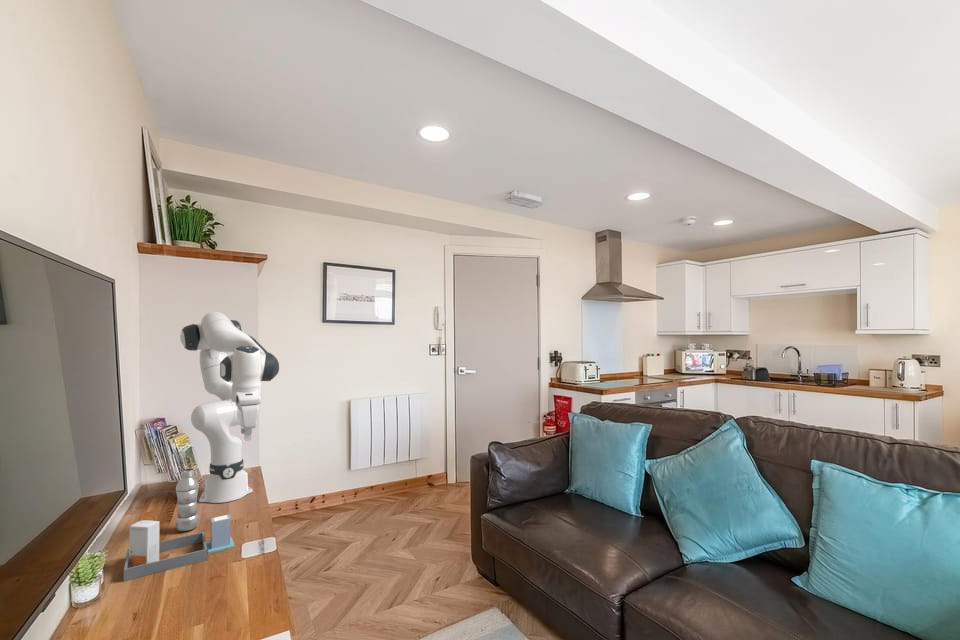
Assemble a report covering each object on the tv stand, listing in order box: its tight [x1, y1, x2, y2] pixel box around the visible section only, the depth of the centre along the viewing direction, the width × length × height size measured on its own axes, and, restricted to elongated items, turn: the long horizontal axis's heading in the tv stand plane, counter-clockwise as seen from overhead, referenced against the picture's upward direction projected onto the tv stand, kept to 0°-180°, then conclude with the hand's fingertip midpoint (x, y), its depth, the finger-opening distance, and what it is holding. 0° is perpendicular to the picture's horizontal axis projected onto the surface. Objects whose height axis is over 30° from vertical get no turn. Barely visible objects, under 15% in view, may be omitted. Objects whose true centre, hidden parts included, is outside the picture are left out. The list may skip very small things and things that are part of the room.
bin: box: [123, 531, 208, 582], centre depth 131 cm, size 14×19×3 cm
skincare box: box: [128, 519, 161, 568], centre depth 127 cm, size 6×4×12 cm
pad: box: [206, 536, 235, 555], centre depth 138 cm, size 7×7×1 cm
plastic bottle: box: [175, 468, 200, 532], centre depth 150 cm, size 6×7×20 cm
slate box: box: [210, 513, 231, 549], centre depth 138 cm, size 4×5×8 cm
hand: (245, 436), depth 148 cm, fingers open, 8 cm apart
